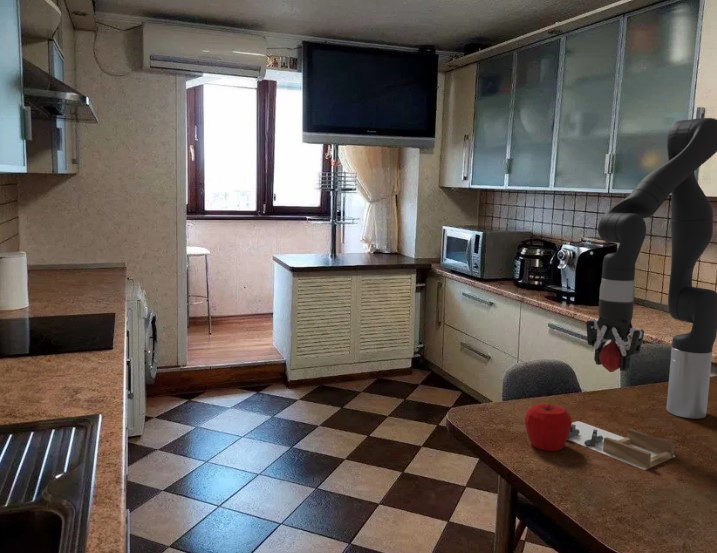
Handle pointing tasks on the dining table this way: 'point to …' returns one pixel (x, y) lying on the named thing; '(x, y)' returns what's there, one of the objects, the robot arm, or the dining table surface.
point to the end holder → (637, 455)
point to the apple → (548, 426)
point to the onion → (610, 356)
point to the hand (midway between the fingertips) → (611, 367)
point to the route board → (598, 439)
